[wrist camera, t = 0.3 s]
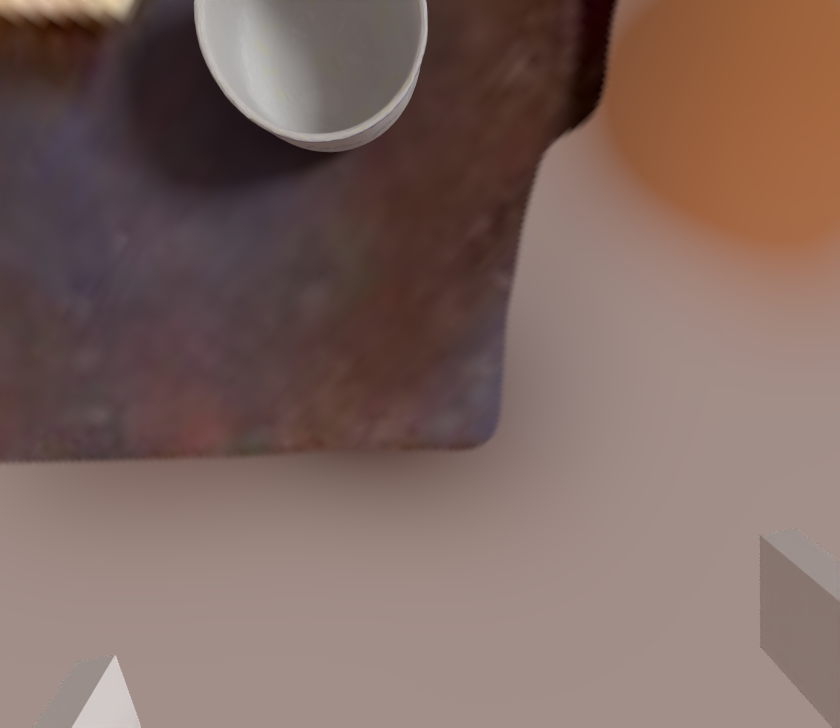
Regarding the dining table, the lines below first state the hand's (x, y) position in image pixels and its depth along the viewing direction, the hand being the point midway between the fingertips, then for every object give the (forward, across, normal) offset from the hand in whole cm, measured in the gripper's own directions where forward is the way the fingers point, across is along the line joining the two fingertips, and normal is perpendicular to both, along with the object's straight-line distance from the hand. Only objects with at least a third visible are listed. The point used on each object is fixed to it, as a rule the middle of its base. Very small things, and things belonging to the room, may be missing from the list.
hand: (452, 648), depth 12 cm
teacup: (+28, 0, +18) cm, 34 cm away
